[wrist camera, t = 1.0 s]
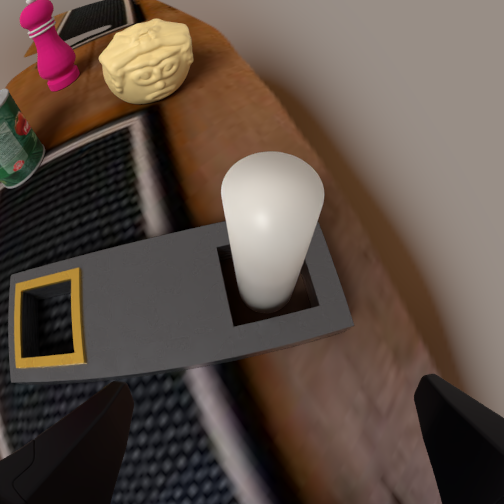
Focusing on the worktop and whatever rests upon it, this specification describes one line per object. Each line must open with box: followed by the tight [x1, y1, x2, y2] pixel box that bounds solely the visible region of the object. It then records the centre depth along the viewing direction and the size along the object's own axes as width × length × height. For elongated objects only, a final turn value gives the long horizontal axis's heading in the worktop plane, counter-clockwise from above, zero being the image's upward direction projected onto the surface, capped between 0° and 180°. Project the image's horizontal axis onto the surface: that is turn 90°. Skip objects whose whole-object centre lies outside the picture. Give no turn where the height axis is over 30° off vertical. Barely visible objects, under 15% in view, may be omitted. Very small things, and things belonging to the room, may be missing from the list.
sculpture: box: [99, 19, 194, 104], centre depth 30 cm, size 11×12×11 cm
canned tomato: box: [0, 89, 45, 188], centre depth 26 cm, size 8×8×11 cm
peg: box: [221, 152, 324, 313], centre depth 18 cm, size 4×4×12 cm
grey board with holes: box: [9, 221, 354, 385], centre depth 21 cm, size 28×10×3 cm, turn 103°
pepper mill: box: [20, 0, 80, 91], centre depth 30 cm, size 7×7×20 cm
